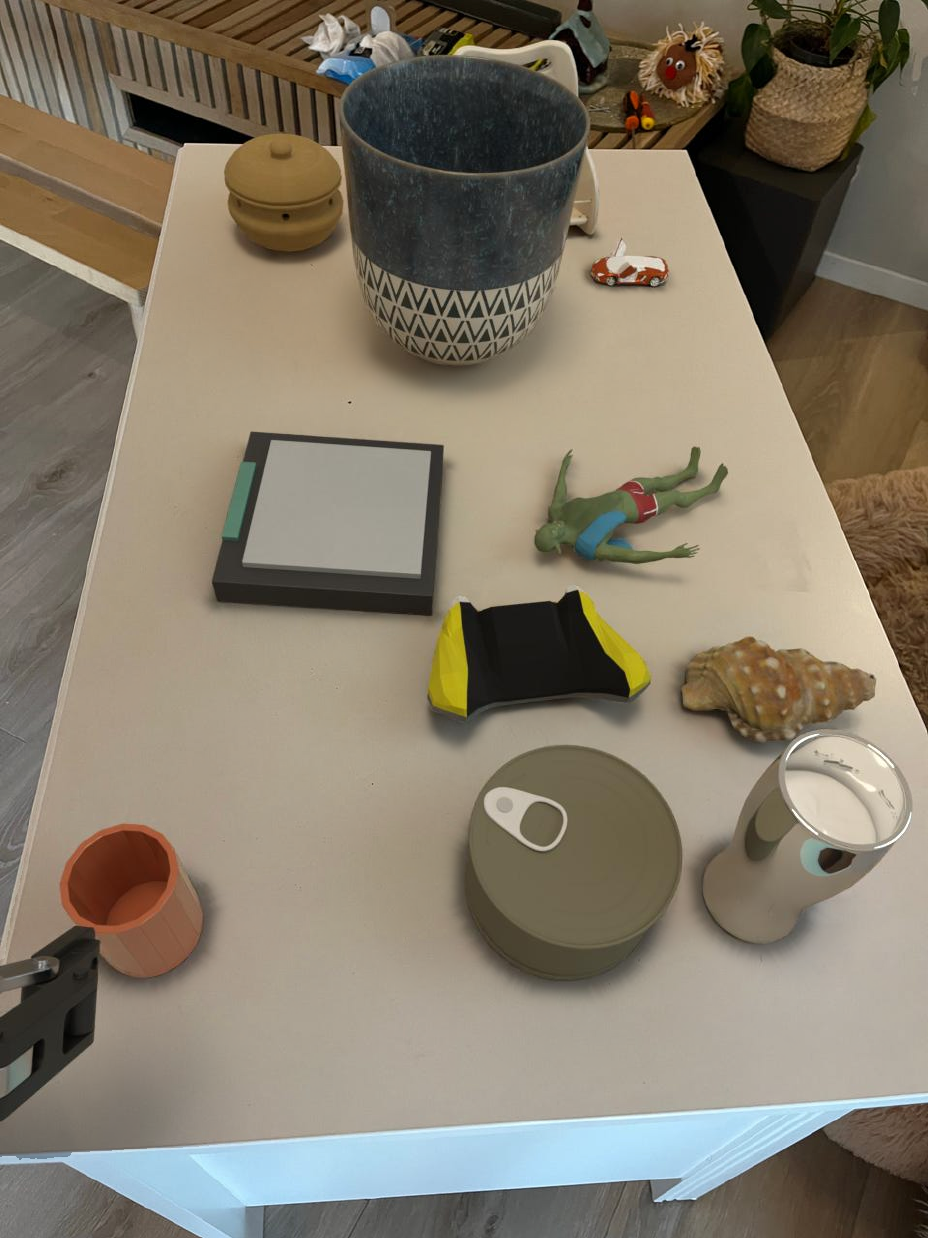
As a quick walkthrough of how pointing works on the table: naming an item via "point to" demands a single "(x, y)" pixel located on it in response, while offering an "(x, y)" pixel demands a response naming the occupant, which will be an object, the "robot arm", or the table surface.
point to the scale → (332, 525)
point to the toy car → (629, 268)
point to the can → (569, 861)
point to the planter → (459, 199)
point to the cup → (133, 899)
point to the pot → (284, 191)
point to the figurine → (618, 515)
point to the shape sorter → (566, 74)
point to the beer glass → (806, 833)
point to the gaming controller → (530, 656)
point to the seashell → (772, 688)
